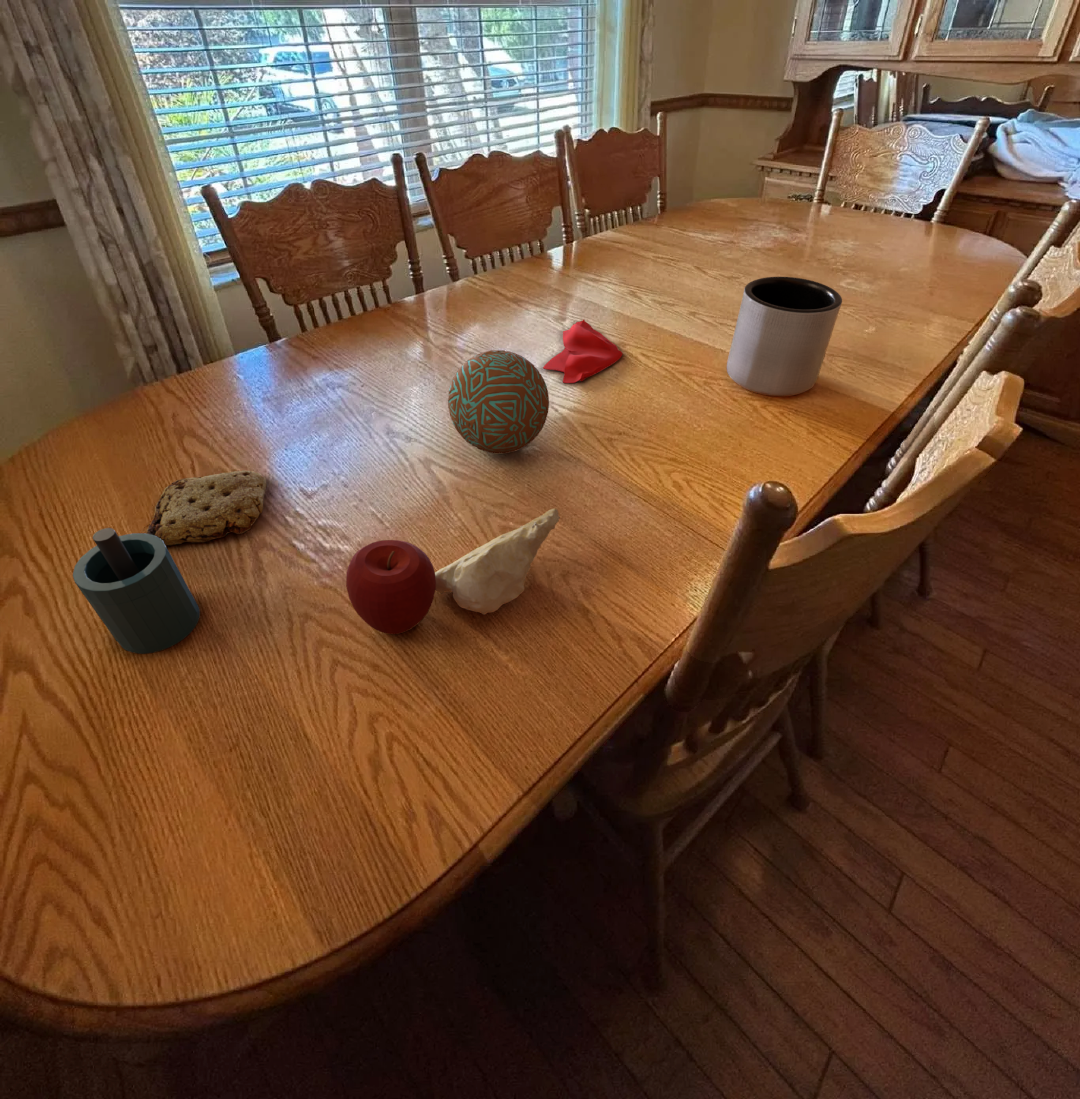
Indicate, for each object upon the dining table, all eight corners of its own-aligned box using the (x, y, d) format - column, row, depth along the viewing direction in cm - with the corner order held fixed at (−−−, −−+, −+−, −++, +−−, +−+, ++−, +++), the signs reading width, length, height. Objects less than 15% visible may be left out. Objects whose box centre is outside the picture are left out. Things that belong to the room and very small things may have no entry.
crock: (127, 666, 67) (81, 604, 61) (109, 618, 72) (65, 555, 66) (210, 628, 71) (175, 565, 65) (187, 585, 76) (153, 522, 69)
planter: (807, 361, 121) (833, 278, 110) (822, 403, 109) (853, 315, 98) (722, 355, 122) (739, 272, 112) (727, 396, 111) (748, 308, 100)
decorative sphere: (566, 438, 100) (570, 349, 90) (510, 485, 91) (507, 392, 81) (491, 410, 107) (487, 324, 96) (432, 452, 97) (420, 361, 87)
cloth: (608, 389, 112) (609, 378, 111) (534, 378, 115) (534, 367, 113) (633, 330, 130) (634, 319, 129) (569, 322, 133) (569, 311, 132)
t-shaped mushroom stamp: (138, 636, 69) (81, 551, 61) (131, 619, 71) (75, 535, 62) (180, 617, 71) (131, 533, 63) (172, 602, 73) (124, 517, 64)
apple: (406, 664, 68) (392, 601, 61) (339, 630, 71) (318, 567, 65) (457, 606, 74) (449, 544, 67) (392, 578, 77) (379, 515, 71)
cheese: (437, 649, 72) (539, 606, 64) (403, 594, 71) (502, 544, 63) (497, 592, 85) (587, 551, 77) (468, 545, 84) (557, 499, 76)
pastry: (303, 500, 88) (297, 483, 86) (194, 572, 78) (185, 555, 76) (224, 460, 95) (218, 443, 93) (114, 522, 85) (104, 505, 83)
